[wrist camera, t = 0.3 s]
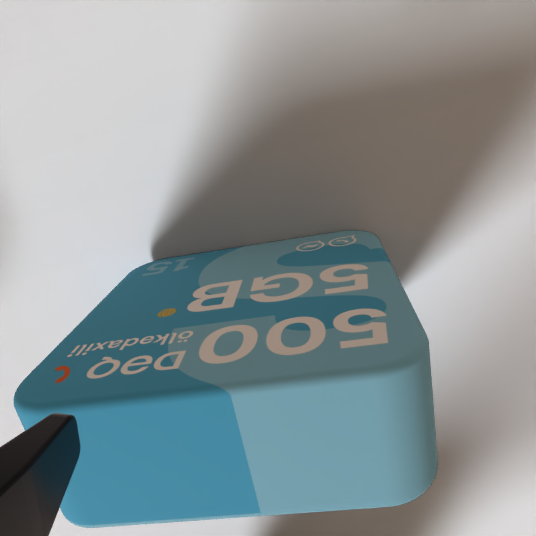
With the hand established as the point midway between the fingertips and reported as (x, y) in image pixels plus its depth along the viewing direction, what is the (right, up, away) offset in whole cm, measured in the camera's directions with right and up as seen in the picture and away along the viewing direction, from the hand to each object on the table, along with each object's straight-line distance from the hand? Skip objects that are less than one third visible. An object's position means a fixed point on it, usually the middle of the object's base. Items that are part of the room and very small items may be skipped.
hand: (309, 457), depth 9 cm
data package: (-1, +3, +15) cm, 15 cm away
